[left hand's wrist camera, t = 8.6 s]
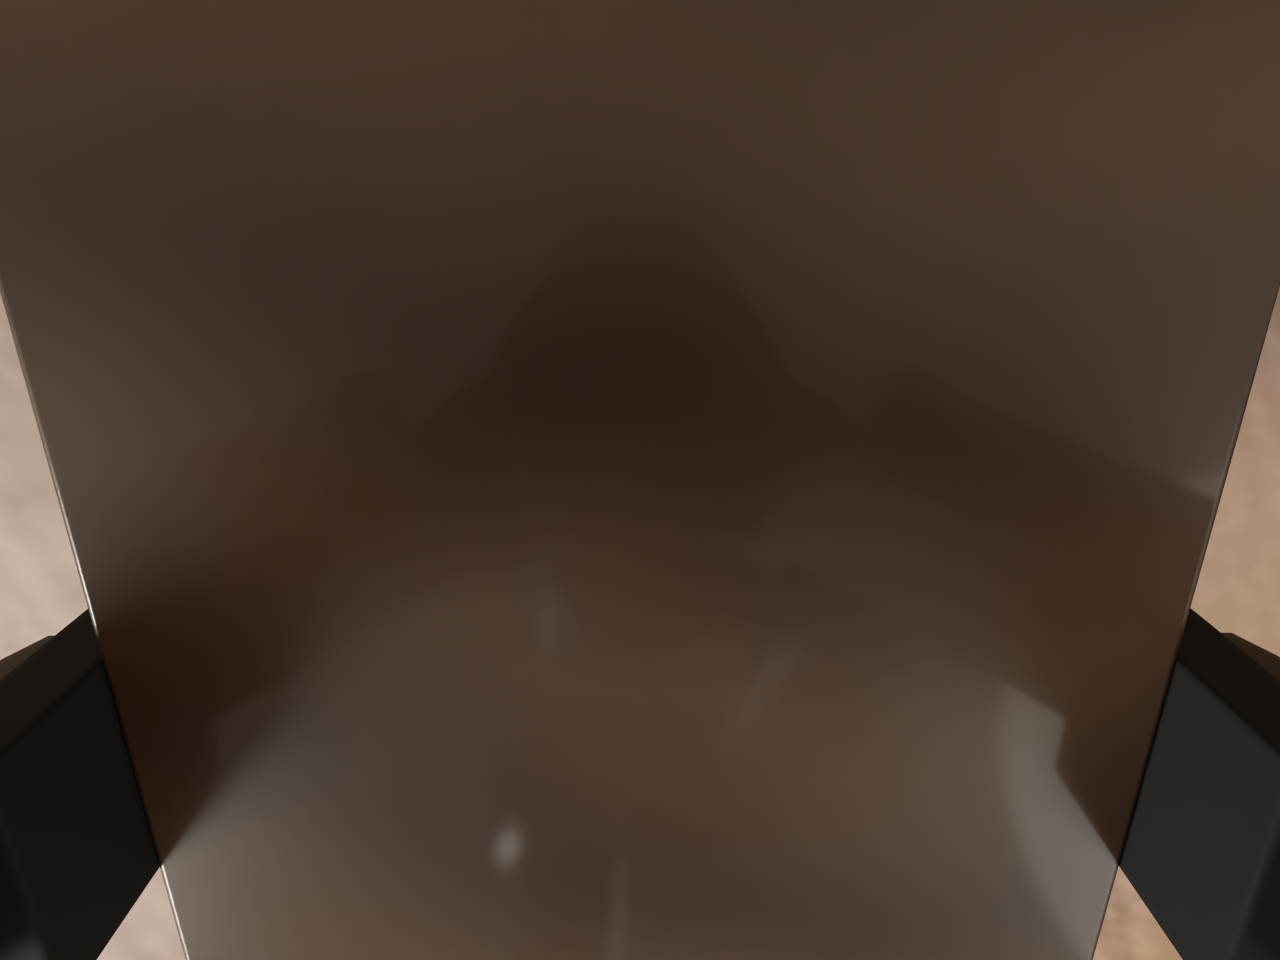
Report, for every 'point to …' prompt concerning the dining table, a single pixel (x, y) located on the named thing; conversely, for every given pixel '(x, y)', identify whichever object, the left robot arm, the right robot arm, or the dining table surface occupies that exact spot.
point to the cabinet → (639, 450)
